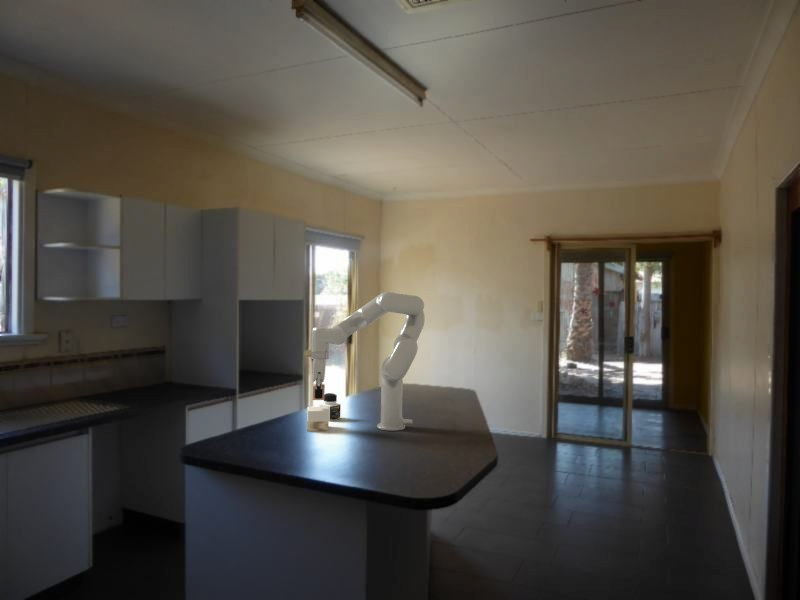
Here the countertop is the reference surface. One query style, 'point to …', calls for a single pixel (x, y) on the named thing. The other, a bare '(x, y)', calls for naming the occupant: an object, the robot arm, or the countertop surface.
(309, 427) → the beech block
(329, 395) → the medicine bottle
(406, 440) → the countertop surface
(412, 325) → the robot arm
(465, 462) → the countertop surface
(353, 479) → the countertop surface
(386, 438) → the countertop surface
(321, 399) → the terracotta block
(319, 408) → the cream block
